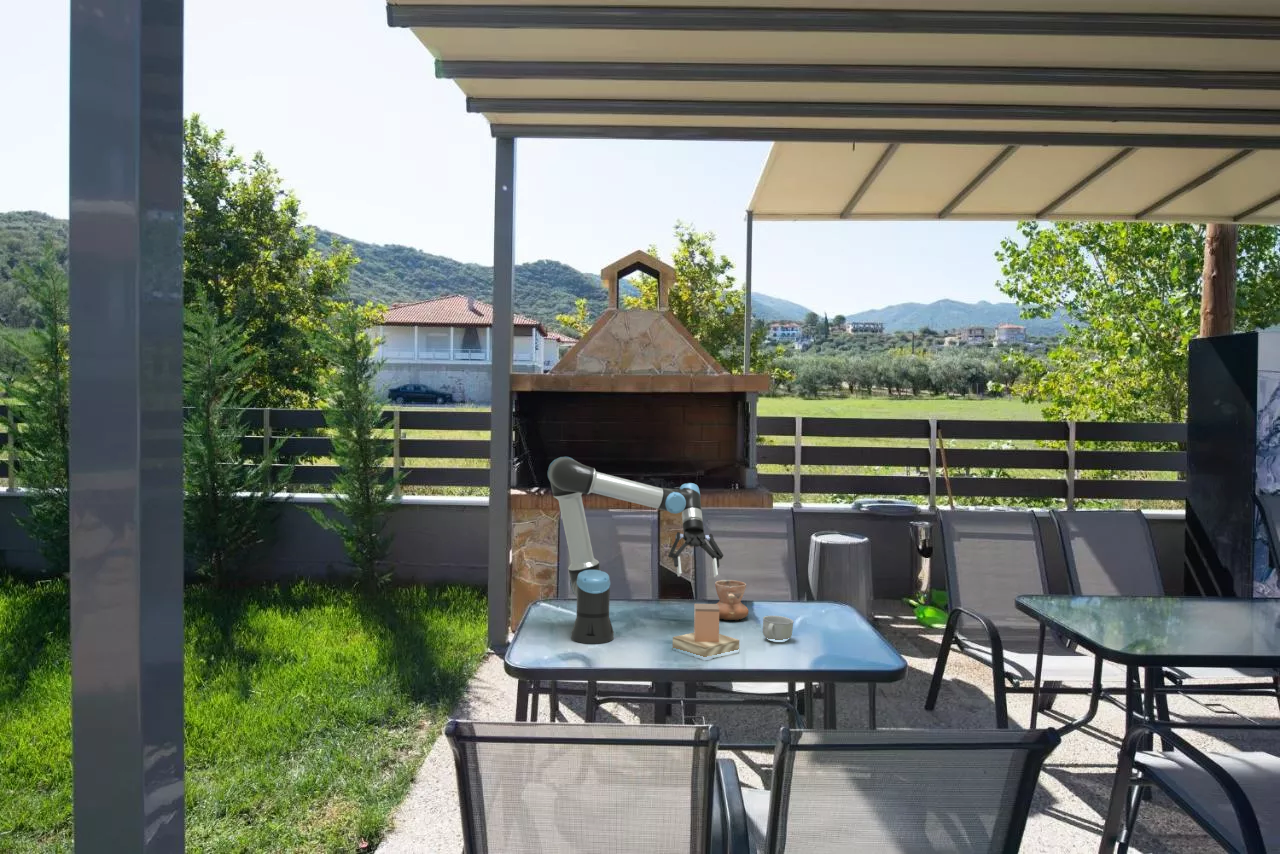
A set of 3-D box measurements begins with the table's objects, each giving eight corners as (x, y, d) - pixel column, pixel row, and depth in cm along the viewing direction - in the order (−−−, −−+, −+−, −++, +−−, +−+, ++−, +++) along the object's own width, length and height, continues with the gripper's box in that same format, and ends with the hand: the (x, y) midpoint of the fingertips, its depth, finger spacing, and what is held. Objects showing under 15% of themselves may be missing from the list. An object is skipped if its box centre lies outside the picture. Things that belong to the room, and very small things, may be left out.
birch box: (705, 662, 287) (705, 647, 287) (672, 651, 299) (672, 636, 299) (739, 654, 297) (739, 639, 297) (706, 644, 309) (706, 630, 309)
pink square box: (694, 641, 294) (695, 608, 293) (693, 635, 302) (694, 603, 301) (718, 642, 293) (719, 609, 293) (717, 635, 301) (717, 604, 301)
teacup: (772, 635, 321) (772, 613, 321) (798, 640, 314) (799, 618, 314) (752, 642, 310) (752, 620, 310) (778, 648, 303) (779, 625, 303)
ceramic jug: (749, 624, 337) (750, 587, 336) (711, 623, 337) (712, 586, 337) (746, 613, 354) (747, 578, 354) (711, 612, 355) (711, 577, 355)
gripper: (721, 528, 332) (727, 580, 321) (657, 525, 327) (661, 578, 316) (727, 519, 326) (734, 572, 315) (662, 516, 321) (666, 569, 309)
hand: (697, 575), depth 315 cm, fingers open, 13 cm apart
